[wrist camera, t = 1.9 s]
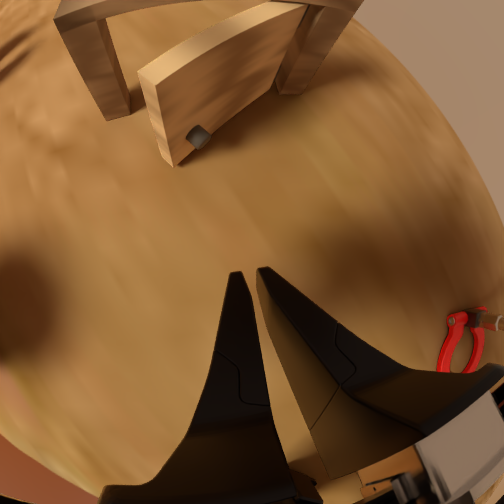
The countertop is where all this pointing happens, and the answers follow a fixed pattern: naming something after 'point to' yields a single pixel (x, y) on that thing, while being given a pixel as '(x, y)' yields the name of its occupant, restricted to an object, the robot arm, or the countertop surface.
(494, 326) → the tow hook
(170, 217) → the countertop surface
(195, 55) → the door
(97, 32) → the frame
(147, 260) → the countertop surface
